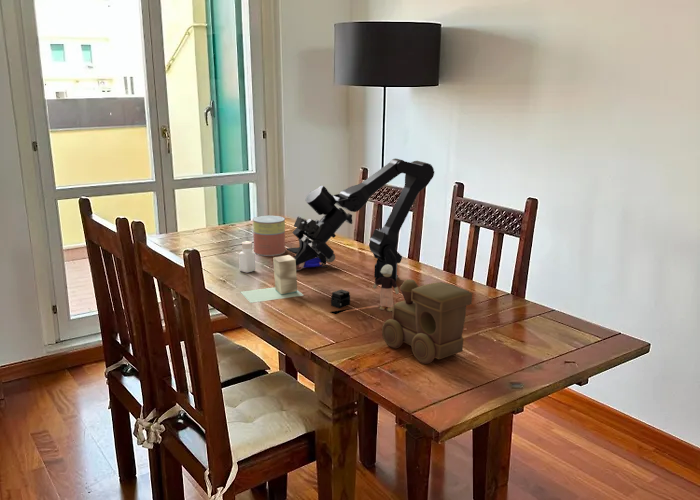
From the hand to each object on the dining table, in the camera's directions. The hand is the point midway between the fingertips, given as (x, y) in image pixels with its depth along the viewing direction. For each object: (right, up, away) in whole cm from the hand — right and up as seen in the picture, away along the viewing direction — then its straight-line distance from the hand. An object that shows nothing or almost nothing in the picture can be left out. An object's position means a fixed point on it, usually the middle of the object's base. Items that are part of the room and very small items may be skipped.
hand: (293, 264), depth 190 cm
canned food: (-12, +4, +44) cm, 46 cm away
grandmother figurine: (+26, -12, -9) cm, 30 cm away
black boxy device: (+14, -12, -9) cm, 20 cm away
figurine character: (+3, -2, +26) cm, 26 cm away
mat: (-6, -9, -1) cm, 11 cm away
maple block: (-2, -8, +1) cm, 8 cm away
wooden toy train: (+33, -20, -36) cm, 53 cm away
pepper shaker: (-17, -3, +21) cm, 27 cm away
